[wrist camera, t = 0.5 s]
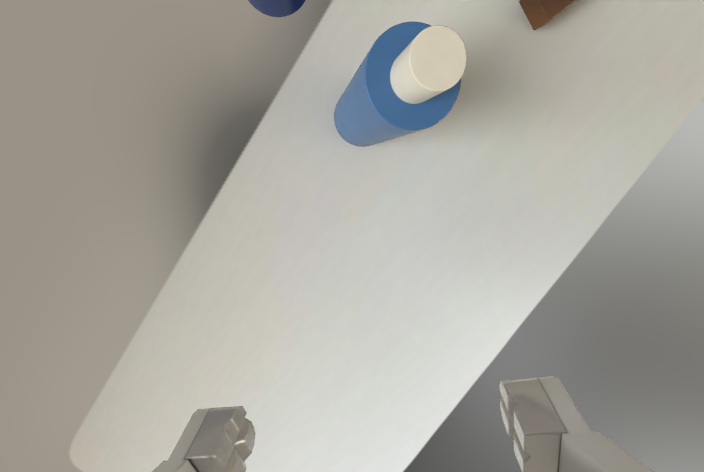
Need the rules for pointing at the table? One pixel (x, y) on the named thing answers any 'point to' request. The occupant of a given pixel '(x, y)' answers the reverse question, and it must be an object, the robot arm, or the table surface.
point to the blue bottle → (402, 84)
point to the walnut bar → (543, 10)
